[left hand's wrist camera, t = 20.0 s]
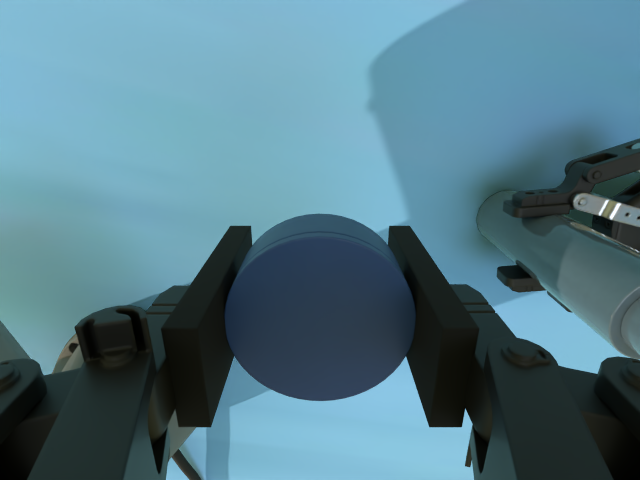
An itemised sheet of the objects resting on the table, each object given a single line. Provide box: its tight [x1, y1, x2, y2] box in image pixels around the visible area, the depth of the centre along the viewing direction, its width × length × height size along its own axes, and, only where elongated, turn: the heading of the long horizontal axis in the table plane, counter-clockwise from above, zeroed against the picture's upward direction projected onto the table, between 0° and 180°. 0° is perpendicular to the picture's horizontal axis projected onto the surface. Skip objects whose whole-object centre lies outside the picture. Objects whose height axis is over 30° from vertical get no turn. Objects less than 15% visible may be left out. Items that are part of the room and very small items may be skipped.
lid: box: [224, 214, 416, 401], centre depth 11 cm, size 5×5×2 cm
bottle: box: [477, 190, 640, 359], centre depth 25 cm, size 5×5×18 cm
